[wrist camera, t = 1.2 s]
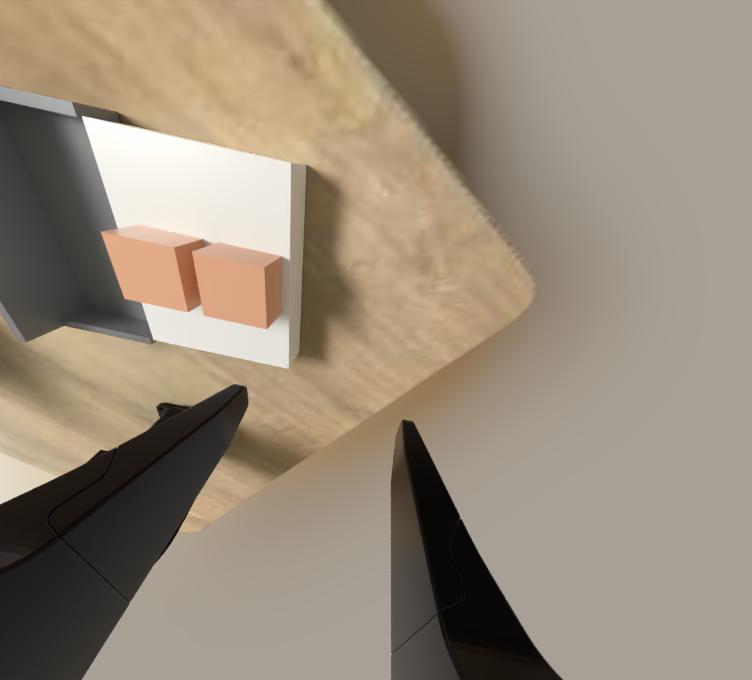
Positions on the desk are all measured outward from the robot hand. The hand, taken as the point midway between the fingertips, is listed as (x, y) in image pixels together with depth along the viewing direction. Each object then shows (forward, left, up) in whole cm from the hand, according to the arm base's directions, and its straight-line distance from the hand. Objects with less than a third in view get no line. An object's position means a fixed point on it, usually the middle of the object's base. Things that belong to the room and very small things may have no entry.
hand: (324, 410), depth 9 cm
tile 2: (0, +12, -10) cm, 16 cm away
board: (0, +10, -12) cm, 16 cm away
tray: (0, +20, -12) cm, 23 cm away
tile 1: (0, +7, -10) cm, 12 cm away
